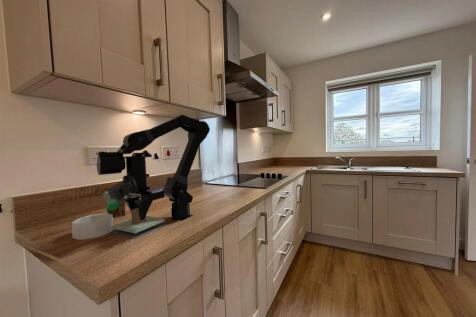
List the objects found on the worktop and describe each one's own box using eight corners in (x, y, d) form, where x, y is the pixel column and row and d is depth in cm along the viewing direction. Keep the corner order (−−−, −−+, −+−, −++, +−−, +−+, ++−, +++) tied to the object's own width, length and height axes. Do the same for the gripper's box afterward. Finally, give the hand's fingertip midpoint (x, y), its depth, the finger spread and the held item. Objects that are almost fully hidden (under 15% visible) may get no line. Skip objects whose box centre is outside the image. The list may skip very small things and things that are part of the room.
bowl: (101, 226, 70) (100, 212, 70) (119, 230, 65) (118, 215, 65) (67, 237, 61) (66, 221, 61) (85, 243, 57) (84, 225, 56)
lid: (142, 217, 73) (141, 203, 72) (164, 221, 68) (163, 205, 67) (112, 228, 63) (111, 211, 63) (135, 233, 58) (134, 215, 58)
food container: (101, 215, 84) (100, 191, 83) (118, 211, 88) (116, 189, 88) (108, 221, 75) (106, 195, 75) (126, 217, 79) (124, 192, 79)
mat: (143, 221, 73) (143, 220, 73) (167, 225, 68) (167, 224, 68) (110, 233, 63) (110, 232, 63) (135, 240, 57) (135, 238, 57)
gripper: (93, 174, 62) (96, 224, 62) (132, 175, 53) (135, 232, 54) (127, 170, 72) (129, 213, 72) (164, 171, 63) (167, 219, 64)
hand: (139, 219), depth 65 cm, fingers closed on lid, 3 cm apart
